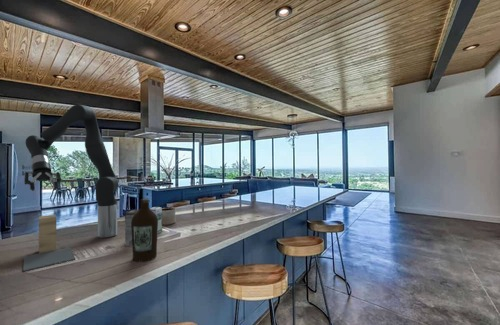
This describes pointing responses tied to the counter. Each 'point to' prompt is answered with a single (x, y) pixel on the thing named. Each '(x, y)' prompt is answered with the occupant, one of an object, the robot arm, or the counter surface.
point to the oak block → (47, 233)
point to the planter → (168, 216)
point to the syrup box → (159, 215)
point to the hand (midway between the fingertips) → (44, 189)
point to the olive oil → (144, 233)
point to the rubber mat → (47, 259)
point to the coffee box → (129, 227)
